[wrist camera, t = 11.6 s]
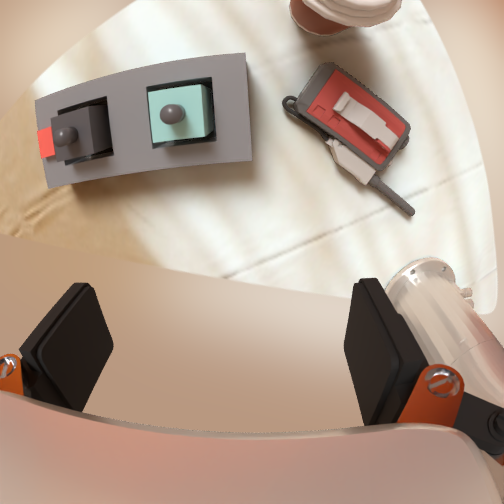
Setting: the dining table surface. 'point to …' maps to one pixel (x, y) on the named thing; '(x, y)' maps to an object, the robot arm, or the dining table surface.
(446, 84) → the dining table surface
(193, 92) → the plug
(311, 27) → the coffee cup
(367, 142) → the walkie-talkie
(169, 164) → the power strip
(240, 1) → the dining table surface
